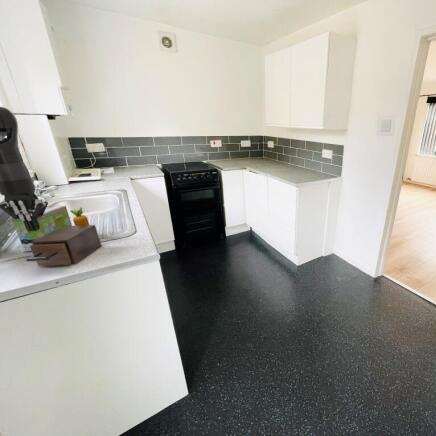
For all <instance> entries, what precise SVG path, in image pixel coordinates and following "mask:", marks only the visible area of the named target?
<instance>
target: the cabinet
mask: <svg viewBox="0 0 436 436" xmlns="http://www.w3.org/2000/svg"><path fill="white" fill-rule="evenodd" d="M59 242H65V243H66V246H67V249H68V251H69V254H70V257H71V262H72V263H71V264H70V265H77V264H78V263H79V262H81V261H82V260H83V259H85V258H87V257H88V256H89V255H91V254H93V253H94V252H95V251H97V250H98V249H100V248H101V247H102V244H101V243H102V242H101V240H100V236H99V233H98V229H97V227H96V225H95V224H89V225H82V226H75V225H72V226H64V227H62V228H60V229H58V230H55V231H53V232H51V233H49V234H47V235H45V236H43V237H40V238H38V239H36V240H34V241H32V244H33V245H35V244H39V243H59Z"/></svg>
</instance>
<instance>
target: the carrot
mask: <svg viewBox="0 0 436 436" xmlns="http://www.w3.org/2000/svg"><path fill="white" fill-rule="evenodd" d="M69 212H70V213H71V214H73V215H74V216H73V218H72V221H73V224H74V226H82V225H90V222H89V219H88V217H87V216H86V215H84V214H83V213H84V211H83V207H81V206H80V207H79V209H77V210H76V209H73V210H72V209H71V210H70V211H69Z"/></svg>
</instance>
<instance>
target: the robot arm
mask: <svg viewBox="0 0 436 436" xmlns="http://www.w3.org/2000/svg"><path fill="white" fill-rule="evenodd" d="M18 123H19V122H18V120H17V117H16V115H15V114H14V113H13V112H12V111H11V110H9V109H8V108H7V107H4V106H0V195H1V196H3V200H4V201H3V203H1V204H0V209H1V210H2V211H3V212H5V213H6V214H7V215H8V216H10V217H11V218H12V217H13V218H14V219H20V220H21V221H23V222H24V225H25V227H26V229H27V230H28V231H37V230H39V229H40V225H39V223H38V220H37V218H39V217H41V216H43V214H44V212H45V210H46V207H48V205H49V202H48V201H46V200H45V201H42V200H40V199H39V197H38V196H37V195H36V193H35V192H36V187H35V185H34V182H33V179H32V177H31V174H30V172H29V169H28V167H27V165H26V163H25V162H24V159H23V157H22V153H21V151H20V147H19V139H18V138H19V137H18V136H19V135H18V134H19V133H18V132H19V131H18V130H19V125H18ZM24 214H25V215H24ZM31 214H32V216H31Z"/></svg>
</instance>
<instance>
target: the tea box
mask: <svg viewBox="0 0 436 436" xmlns="http://www.w3.org/2000/svg"><path fill="white" fill-rule="evenodd" d="M24 215H25V214H24ZM31 216H32V214H31ZM11 219H12V223H13V225H14V229H15V231H16V234H17V237H18V238H19V239H18V240H19V241H20V243H21V246H22V249H23V251H24V252H32V250H31V248H30V246H31V245H33V244H32V241H34V240H36V239H38V238H40V237H43V236H45V235H47V234H49V233H51V232H53V231H55V230H58V229H60V228H62V227H64V226H73V224H72V223H73V222H72V220H71V217H70V214H69V211H68V207H67V206H66V205H56V206H54V205H53V206H47V207H46V210H45V212H44V214H43V216H41V217H39V218H37V220H38V223H39V225H40V229H39V230H37V231H28V230H27V229H26V227H25V225H24V222H23V221H21V220H20V219H14V218H13V217H11Z"/></svg>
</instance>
